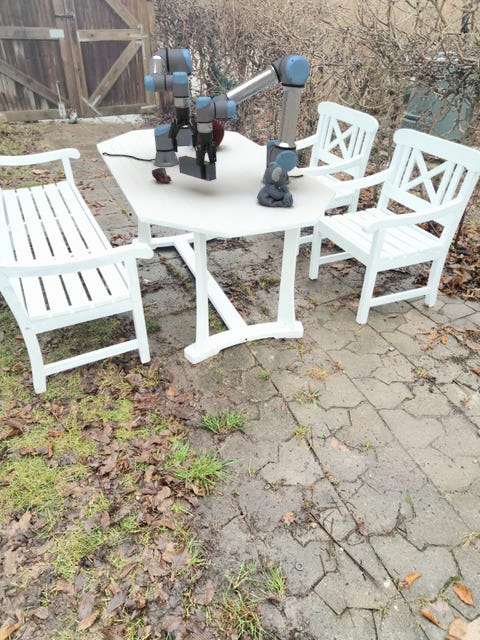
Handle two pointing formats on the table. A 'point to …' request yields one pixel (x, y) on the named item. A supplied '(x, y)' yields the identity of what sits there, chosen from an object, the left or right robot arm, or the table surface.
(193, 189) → the table surface
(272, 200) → the koala plush
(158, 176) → the rock
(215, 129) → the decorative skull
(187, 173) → the bar
